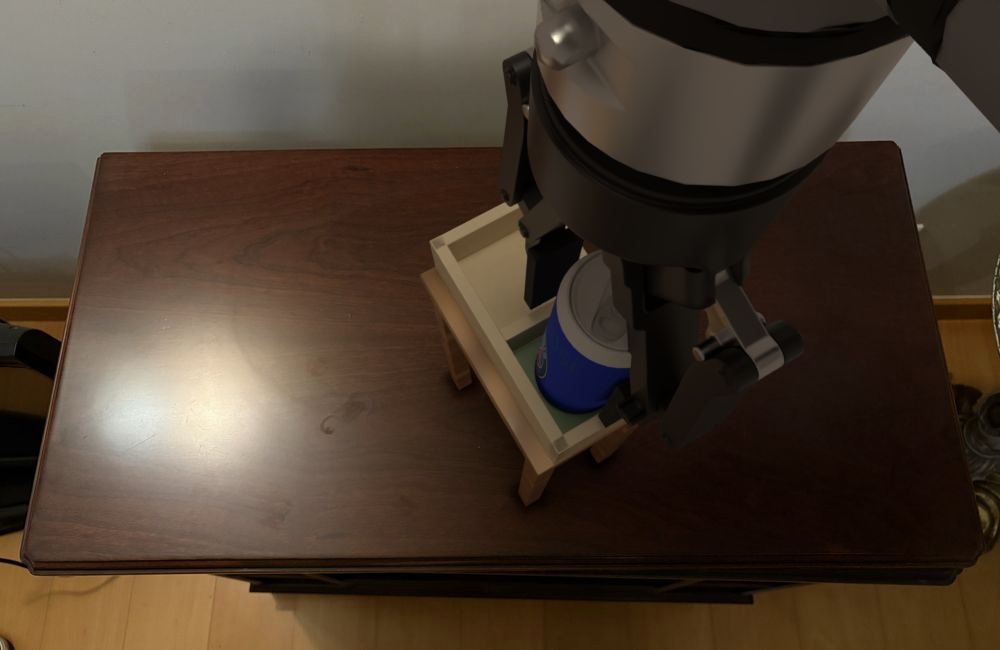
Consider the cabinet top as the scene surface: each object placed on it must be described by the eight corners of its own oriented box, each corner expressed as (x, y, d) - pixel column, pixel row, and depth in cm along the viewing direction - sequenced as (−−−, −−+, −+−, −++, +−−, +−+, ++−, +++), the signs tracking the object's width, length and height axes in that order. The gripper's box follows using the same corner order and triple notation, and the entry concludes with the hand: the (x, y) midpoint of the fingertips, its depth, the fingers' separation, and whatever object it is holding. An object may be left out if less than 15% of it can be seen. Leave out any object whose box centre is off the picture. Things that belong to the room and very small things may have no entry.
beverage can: (560, 315, 43) (598, 216, 29) (634, 358, 43) (710, 278, 28) (517, 386, 42) (535, 320, 28) (593, 431, 42) (651, 387, 27)
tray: (661, 400, 43) (676, 384, 40) (553, 464, 42) (558, 454, 38) (537, 214, 48) (539, 183, 44) (435, 267, 46) (429, 240, 43)
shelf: (614, 456, 68) (677, 392, 44) (525, 510, 67) (538, 475, 42) (533, 329, 72) (550, 205, 48) (448, 376, 71) (419, 274, 46)
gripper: (359, -147, 19) (436, 238, 40) (836, 524, 13) (627, 552, 35) (598, -245, 20) (548, 180, 42) (1128, 330, 14) (751, 475, 36)
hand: (584, 349), depth 38 cm, fingers open, 7 cm apart
